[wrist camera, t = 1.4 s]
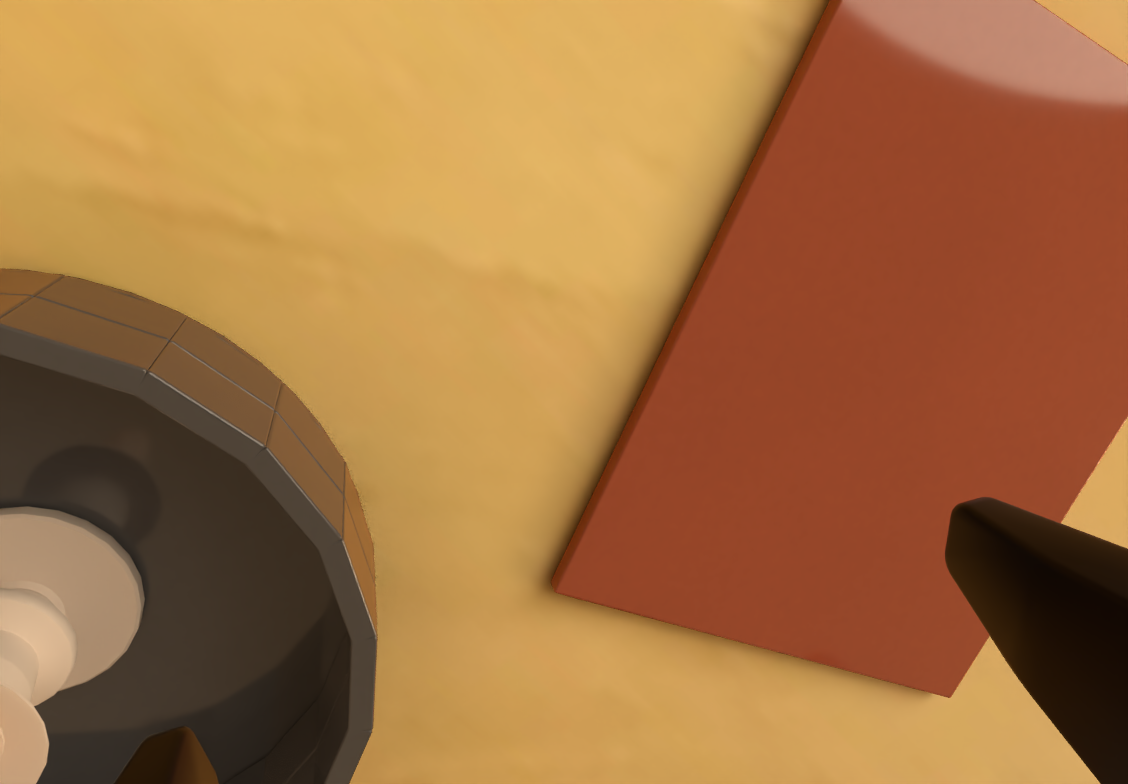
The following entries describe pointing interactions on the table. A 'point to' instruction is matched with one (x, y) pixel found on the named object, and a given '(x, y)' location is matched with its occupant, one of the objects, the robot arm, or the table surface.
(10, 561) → the candle
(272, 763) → the pan
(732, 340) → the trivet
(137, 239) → the table surface
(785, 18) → the table surface
